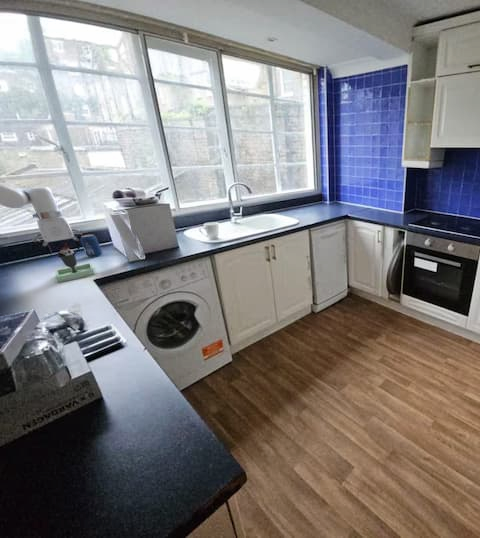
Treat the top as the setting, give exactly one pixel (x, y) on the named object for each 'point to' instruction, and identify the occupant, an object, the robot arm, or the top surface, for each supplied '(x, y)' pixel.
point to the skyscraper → (128, 236)
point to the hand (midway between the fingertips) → (65, 251)
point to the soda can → (91, 245)
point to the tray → (65, 273)
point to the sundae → (68, 258)
